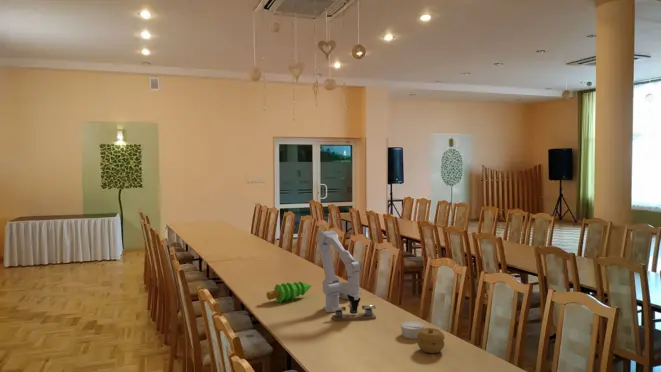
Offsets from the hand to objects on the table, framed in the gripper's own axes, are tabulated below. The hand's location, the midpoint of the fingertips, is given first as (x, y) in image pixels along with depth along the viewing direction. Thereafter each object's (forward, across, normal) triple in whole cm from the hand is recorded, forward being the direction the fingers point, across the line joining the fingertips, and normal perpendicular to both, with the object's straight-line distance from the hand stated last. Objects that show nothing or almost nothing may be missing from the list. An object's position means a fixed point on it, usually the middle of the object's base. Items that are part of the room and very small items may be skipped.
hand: (353, 309), depth 255 cm
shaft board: (+4, 0, 0) cm, 4 cm away
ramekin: (+5, -30, -22) cm, 37 cm away
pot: (+5, -49, -24) cm, 55 cm away
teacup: (+5, +37, -4) cm, 37 cm away
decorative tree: (+5, +39, +30) cm, 49 cm away
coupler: (+2, 0, 0) cm, 2 cm away
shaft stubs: (+3, 0, 0) cm, 3 cm away
